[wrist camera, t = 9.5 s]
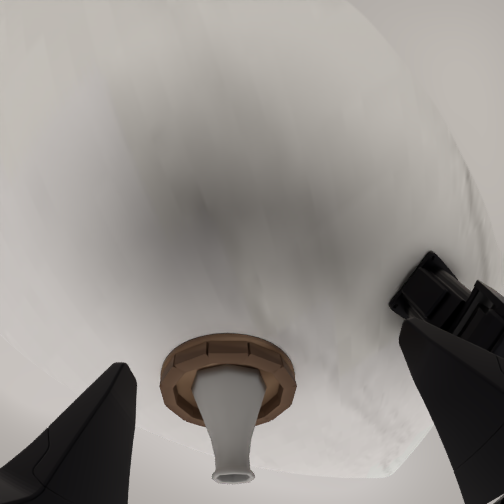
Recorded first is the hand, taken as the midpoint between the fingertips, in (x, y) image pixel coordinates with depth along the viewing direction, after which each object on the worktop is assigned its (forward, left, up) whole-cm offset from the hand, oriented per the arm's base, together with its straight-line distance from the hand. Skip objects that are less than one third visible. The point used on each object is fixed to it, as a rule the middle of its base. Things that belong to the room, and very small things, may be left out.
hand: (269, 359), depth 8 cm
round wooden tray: (-7, +14, -12) cm, 20 cm away
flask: (-7, +14, -12) cm, 19 cm away
